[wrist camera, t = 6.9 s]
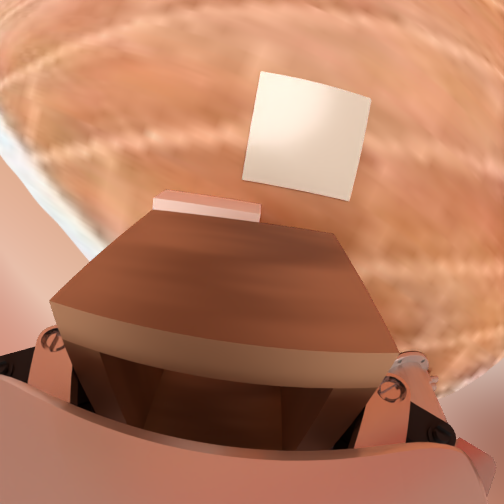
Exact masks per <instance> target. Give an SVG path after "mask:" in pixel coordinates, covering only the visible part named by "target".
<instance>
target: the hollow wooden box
mask: <svg viewBox="0 0 504 504" xmlns="http://www.w3.org/2000/svg"><path fill="white" fill-rule="evenodd" d="M50 305H51V308H52V311H53V315H54V318H55V320H56V324H57V327H58V329H59V332H60V335H61V338H62V340H63V343H64V346H65V348H66V351H67V353H68V356H69V358H70V360H71V363H72V365H73V367H74V370H75V372H76V374H77V376H78V379H79V381H80V383H81V385H82V387H83V389H84V391H85V393H86V395H87V397H88V399H89V401H90V403H91V405H92V406H93V408H94V410H95V412H96V414H98V415H100V416H103V417H106V418H109V419H111V420H114V421H117V422H120V423H124V424H127V425H130V426H133V427H137V428H140V429H144V430H147V431H151V432H155V433H159V434H163V435H167V436H171V437H176V438H181V439H186V440H191V441H196V442H202V443H208V444H214V445H221V446H229V447H238V448H248V449H260V450H279V451H322V450H330V449H331V448H332V447H333V446H334V444H335V443H336V442H337V441H338V440H339V439H340V437H341V436H342V435H343V434H344V433H345V431H346V430H347V429H348V428H349V426H350V425H351V424H352V423H353V421H354V420H355V419H356V417H357V416H358V415H359V413H360V412H361V411H362V409H363V408H364V407H365V405H366V404H367V403H368V401H369V400H370V398H371V397H372V395H373V394H374V393H375V391H376V390H377V388H378V387H379V385H380V384H381V382H382V381H383V379H384V378H385V376H386V375H387V373H388V371H389V370H390V368H391V367H392V365H393V363H394V362H395V360H396V358H397V357H398V355H399V351H398V349H397V347H396V344H395V342H394V340H393V338H392V336H391V334H390V332H389V331H388V329H387V327H386V325H385V323H384V321H383V319H382V317H381V315H380V313H379V311H378V309H377V308H376V306H375V304H374V302H373V300H372V298H371V297H370V295H369V293H368V291H367V289H366V288H365V286H364V284H363V282H362V280H361V279H360V277H359V275H358V273H357V272H356V270H355V268H354V267H353V265H352V263H351V261H350V260H349V258H348V256H347V255H346V253H345V251H344V250H343V248H342V247H341V245H340V243H339V242H338V240H337V238H336V237H335V235H334V234H332V233H326V232H320V231H314V230H307V229H301V228H294V227H287V226H280V225H274V224H267V223H259V222H252V221H245V220H237V219H230V218H222V217H214V216H206V215H198V214H190V213H181V212H172V211H163V210H154V209H153V210H152V211H150V212H149V213H148V214H147V215H145V216H144V217H143V218H141V219H140V220H139V221H138V222H136V223H135V224H134V225H133V226H131V227H130V228H129V229H128V230H126V231H125V232H124V233H123V234H122V235H120V236H119V237H118V238H117V239H116V240H114V241H113V242H112V243H111V244H110V245H109V246H107V247H106V248H105V249H104V250H103V251H102V252H100V253H99V254H98V255H97V256H96V257H95V258H94V259H93V260H91V261H90V262H89V263H88V264H87V265H86V266H85V267H84V268H83V269H82V270H81V271H80V272H78V273H77V274H76V275H75V276H74V277H73V278H72V279H71V280H70V281H69V282H68V283H67V284H66V285H65V286H64V287H63V288H62V289H60V290H59V291H58V293H56V294H55V295H54V296H53V297H52V298H51V300H50Z"/></svg>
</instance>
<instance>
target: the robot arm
mask: <svg viewBox="0 0 504 504" xmlns="http://www.w3.org/2000/svg"><path fill="white" fill-rule="evenodd" d="M428 366H429V363H428V360H427V358H426V356H425V355H424V354H422V353H420V352H407V353H403V354H399V355H398V357H397V358H396V360H395V362H394V363H393V365H392V367H391V368H390V370H389V371H388V373H387V375H386V376H385V378H384V379H383V381H382V382H381V384H380V385H379V387H378V388H377V390H376V391H375V393H374V394H373V395H372V397H371V398H370V400H369V401H368V403H367V404H366V405H365V407H364V408H363V409H362V411H361V412H360V413H359V415H358V416H357V417H356V419H355V420H354V421H353V423H352V424H351V425H350V426H349V428H348V429H347V430H346V431H345V433H344V434H343V435H342V436H341V437H340V439H339V440H338V441H337V442H336V443H335V444H334V446H333V447H332V448H331V449H330V450H322V451H279V450H260V449H248V448H238V447H229V446H221V445H214V444H208V443H202V442H196V441H191V440H186V439H181V438H176V437H171V436H167V435H163V434H159V433H155V432H151V431H147V430H144V429H140V428H137V427H133V426H130V425H127V424H124V423H120V422H117V421H114V420H111V419H109V418H106V417H103V416H100V415H98V414H96V412H95V410H94V408H93V406H92V405H91V403H90V401H89V399H88V397H87V395H86V393H85V391H84V389H83V387H82V385H81V383H80V381H79V379H78V376H77V374H76V372H75V370H74V367H73V365H72V363H71V360H70V358H69V356H68V353H67V351H66V348H65V346H64V343H63V340H62V338H61V335H60V332H59V329H58V327H57V325H54V326H51V327H48V328H46V329H45V330H43V331H42V332H41V333H40V335H39V337H38V339H37V342H36V346H35V347H32V348H28V349H25V350H21V351H17V352H14V353H10V354H6V355H3V356H0V504H488V501H487V495H488V493H489V490H490V487H491V484H492V481H493V478H494V475H495V471H496V464H495V461H494V459H493V458H492V457H491V456H490V455H488V454H487V453H485V452H483V451H482V450H480V449H478V448H476V447H475V446H473V445H472V444H470V443H468V442H467V441H465V440H463V439H462V438H458V439H457V440H456V435H455V432H454V430H453V428H452V427H451V426H450V425H449V424H448V422H447V420H446V418H445V415H444V413H443V411H442V408H441V406H440V404H439V402H438V399H437V397H436V395H435V393H434V391H435V390H436V382H437V381H438V376H431V377H430V376H429V374H428V372H427V370H428Z"/></svg>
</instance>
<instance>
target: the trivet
mask: <svg viewBox="0 0 504 504" xmlns="http://www.w3.org/2000/svg"><path fill="white" fill-rule="evenodd" d="M370 104H371V98H368V97H365V96H362V95H359V94H356V93H352V92H349V91H346V90H343V89H339V88H336V87H332V86H328V85H325V84H321V83H317V82H313V81H308V80H304V79H299V78H295V77H290V76H285V75H279V74H274V73H268V72H262V71H261V73H260V79H259V84H258V89H257V95H256V100H255V106H254V111H253V117H252V122H251V128H250V134H249V140H248V145H247V151H246V157H245V163H244V169H243V175H242V180H246V181H252V182H258V183H264V184H269V185H275V186H280V187H285V188H290V189H295V190H300V191H305V192H310V193H315V194H319V195H324V196H328V197H333V198H337V199H342V200H346V201H349V200H350V196H351V192H352V189H353V184H354V180H355V176H356V172H357V168H358V164H359V159H360V155H361V150H362V145H363V141H364V136H365V131H366V126H367V121H368V115H369V110H370Z"/></svg>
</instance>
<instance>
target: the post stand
mask: <svg viewBox="0 0 504 504" xmlns="http://www.w3.org/2000/svg"><path fill="white" fill-rule="evenodd" d="M153 209H154V210H163V211H172V212H181V213H190V214H198V215H206V216H214V217H222V218H230V219H237V220H245V221H252V222H259V220H260V215H261V204H257V203H252V202H246V201H240V200H234V199H228V198H221V197H215V196H208V195H201V194H195V193H188V192H180V191H173V190H165V191H163V192H162V193H160V194H159V195H157V196H155V197H154V198H153Z"/></svg>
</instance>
